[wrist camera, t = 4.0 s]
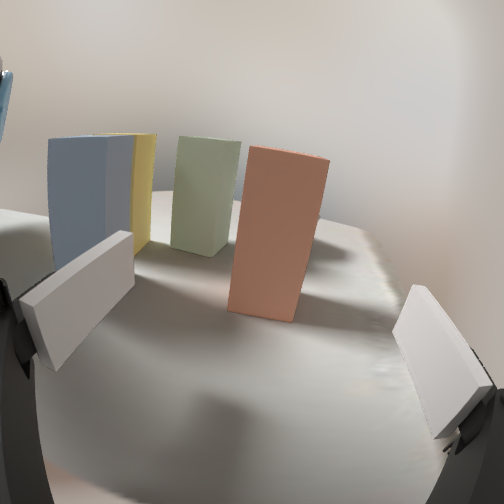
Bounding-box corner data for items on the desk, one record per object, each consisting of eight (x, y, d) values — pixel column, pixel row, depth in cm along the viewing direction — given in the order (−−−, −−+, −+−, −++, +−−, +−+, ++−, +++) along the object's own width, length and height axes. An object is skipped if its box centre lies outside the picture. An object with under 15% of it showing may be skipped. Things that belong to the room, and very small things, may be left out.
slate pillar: (59, 292, 19) (48, 138, 14) (84, 265, 23) (82, 135, 19) (111, 302, 19) (107, 136, 15) (131, 272, 24) (134, 135, 19)
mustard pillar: (92, 250, 26) (92, 134, 22) (113, 234, 31) (116, 133, 26) (133, 257, 27) (137, 134, 22) (150, 240, 31) (156, 134, 27)
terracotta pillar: (227, 310, 21) (249, 145, 17) (237, 280, 26) (257, 145, 21) (291, 322, 21) (329, 160, 16) (291, 290, 26) (320, 156, 21)
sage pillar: (170, 247, 30) (179, 135, 26) (190, 234, 35) (200, 136, 30) (211, 258, 29) (225, 140, 25) (227, 242, 34) (241, 141, 29)
